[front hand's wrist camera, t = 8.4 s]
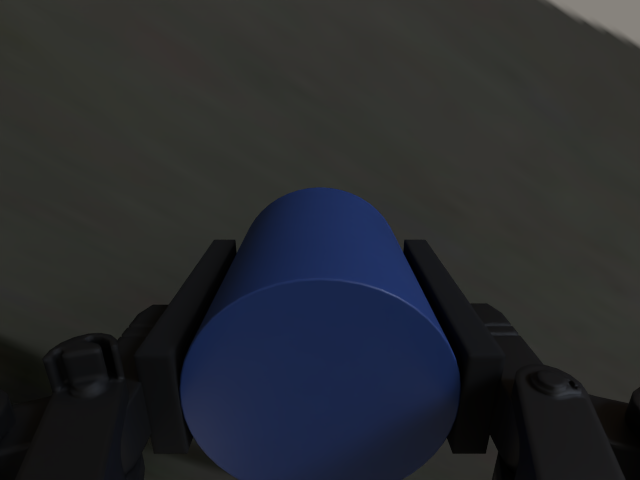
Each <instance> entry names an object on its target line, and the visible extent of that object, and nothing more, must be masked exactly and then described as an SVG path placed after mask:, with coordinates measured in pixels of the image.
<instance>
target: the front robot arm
mask: <svg viewBox="0 0 640 480" xmlns="http://www.w3.org/2000/svg"><path fill="white" fill-rule="evenodd" d="M403 254H404V256H405V257H406V259H407V261H408V263H409V265H410V267H411V269H412V271H413V273H414V275H415V277H416V279H417V281H418V283H419V285H420V287H421V289H422V291H423V293H424V295H425V297H426V299H427V301H428V303H429V305H430V307H431V309H432V311H433V313H434V315H435V317H436V319H437V321H438V323H439V325H440V327H441V328H442V330H443V332H444V334H445V336H446V338H447V340H448V342H449V344H450V347H451V349H452V351H453V353H454V355H455V358H456V361H457V365H458V368H459V372H460V382H461V395H460V404H459V409H458V413H457V417H456V420H455V422H454V424H453V427H452V429H451V431H450V433H449V435H448V436H447V439H448V442H449V444H450V447H451V450H452V453H453V454H486V450H487V445H488V440H489V436H490V435H491V438H492V440H493V442H494V444H495V446H496V448H497V450H498V455H497V460H496V464H495V469H494V473H493V478H492V480H640V387H639V388H638V389H636V390H635V391H634V392H633V393H632V396H631V399H630V402H629V403H624V402H620V401H615V400H611V399H606V398H601V397H597V396H593V395H589V394H588V393H587V391H586V390H585V388H584V387H583V386H582V384H581V383H580V382H579V381H577V380H576V379H575V378H573V377H572V376H571V375H569V374H567V373H565V372H563V371H561V370H559V369H557V368H553V367H550V366H546V365H543V363H542V362H541V361H540V360H539V358H538V357H537V356H536V355H535V353H534V352H533V351H532V350H531V348H530V347H529V346H528V345H527V344H526V342H525V341H524V340H523V339H522V337H521V336H518V332H517V331H516V330H515V329H514V328H513V326H511V324H510V323H509V321H508V320H507V319H506V318H505V316H504V315H503V314H502V313H501V312H499V311H498V310H496V309H495V308H493V307H492V306H490V305H488V304H470V303H469V302H468V300H467V299H466V297H465V296H464V294H463V293H462V292H461V290H460V289H459V287H458V286H457V284H456V283H455V282H454V280H453V279H452V277H451V276H450V274H449V273H448V271H447V270H446V269H445V267H444V266H443V264H442V263H441V261H440V260H439V259H438V257H437V256H436V254H435V253H434V251H433V250H432V249H431V247H430V246H429V244H428V243H427V241H426V240H404V251H403ZM235 256H236V242H235V240H214V241H213V242H212V244H211V245H210V247H209V248H208V250H207V251H206V252H205V254H204V255H203V257H202V258H201V260H200V261H199V263H198V264H197V265H196V267H195V268H194V270H193V271H192V273H191V274H190V275H189V277H188V278H187V280H186V281H185V283H184V284H183V285H182V287H181V288H180V290H179V291H178V293H177V294H176V295H175V297H174V298H173V300H172V301H171V303H170V304H169V305H152V306H150V307H149V308H147V309H146V310H144V311H143V312H141V313H139V314H138V315H137V316H136V318H135V319H134V320H133V321H132V323H131V324H130V325H129V328H127V329H126V330H125V331H124V333H123V334H122V337H120V338H119V339H118V340H116V339H115V338H114V337H113V336H111V335H108V334H103V333H93V334H85V335H81V336H77V337H74V338H71V339H69V340H67V341H64V342H62V343H60V344H59V345H57V346H56V347H54V348H53V349H51V350H50V351H49V352H48V353H47V354H46V355H45V356H44V358H43V362H44V365H45V369H46V372H47V375H48V378H49V381H50V385H51V388H52V391H53V393H52V396H49V397H46V398H42V399H37V400H33V401H28V402H23V403H19V404H14V405H11V403H10V400H9V397H8V394H7V393H6V392H4V391H3V390H1V389H0V480H144V472H145V466H144V460H143V455H142V451H143V449H144V447H145V445H146V443H147V441H148V439H149V437H151V442H152V446H153V451H154V454H187V452H188V449H189V447H190V444H191V441H192V438H193V436H192V434H191V432H190V431H189V428H188V426H187V424H186V421H185V419H184V415H183V411H182V407H181V402H180V391H179V386H180V374H181V370H182V366H183V362H184V359H185V356H186V354H187V352H188V349H189V347H190V345H191V343H192V341H193V339H194V337H195V335H196V333H197V331H198V329H199V327H200V325H201V323H202V321H203V319H204V317H205V315H206V313H207V311H208V309H209V307H210V305H211V303H212V301H213V299H214V297H215V295H216V294H217V292H218V290H219V288H220V286H221V284H222V282H223V280H224V278H225V276H226V274H227V272H228V270H229V268H230V266H231V264H232V262H233V260H234V258H235Z"/></svg>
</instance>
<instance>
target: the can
mask: <svg viewBox="0 0 640 480" xmlns="http://www.w3.org/2000/svg"><path fill="white" fill-rule="evenodd" d="M179 391H180V402H181V407H182V411H183V415H184V419H185V421H186V424H187V426H188V428H189V431H190V432H191V434H192V436H193V437H194V439H195V441H196V442H197V444H198V445H199V446H200V448H201V449H202V450H203V451H204V452H205V454H206V455H207V456H208V457H209V458H210V459H211V460H212V461H213V462H215V463H216V464H217V465H218V466H219V467H220V468H222V469H223V470H224V471H226V472H227V473H229V474H230V475H232V476H233V477H235V478H237V479H238V480H402V479H404V478H405V477H407V476H409V475H410V474H412V473H413V472H415V471H416V470H417V469H419V468H420V467H421V466H423V465H424V464H425V463H426V462H427V461H428V460H429V459H430V458H431V457H432V456H433V455H434V454H435V453H436V452H437V450H438V449H439V448H440V447H441V445H442V444H443V443H444V441H445V440H446V438H447V436H448V435H449V433H450V431H451V429H452V427H453V424H454V422H455V420H456V417H457V413H458V409H459V404H460V395H461V382H460V372H459V368H458V365H457V361H456V358H455V355H454V353H453V351H452V349H451V347H450V344H449V342H448V340H447V338H446V336H445V334H444V332H443V330H442V328H441V327H440V325H439V323H438V321H437V319H436V317H435V315H434V313H433V311H432V309H431V307H430V305H429V303H428V301H427V299H426V297H425V295H424V293H423V291H422V289H421V287H420V285H419V283H418V281H417V279H416V277H415V275H414V273H413V271H412V269H411V267H410V265H409V263H408V261H407V259H406V257H405V256H404V254H403V252H402V250H401V248H400V246H399V244H398V242H397V240H396V238H395V236H394V234H393V232H392V230H391V228H390V226H389V225H388V223H387V222H386V220H385V218H384V217H383V216H382V215H381V214H380V213H379V212H378V211H377V210H376V209H375V208H374V207H373V206H372V205H371V204H369V203H368V202H366V201H365V200H363V199H362V198H360V197H358V196H356V195H353V194H351V193H348V192H345V191H342V190H337V189H332V188H308V189H303V190H298V191H295V192H292V193H289V194H287V195H285V196H283V197H281V198H279V199H277V200H275V201H274V202H272V203H271V204H269V205H268V206H267V207H266V208H265V209H264V210H263V211H262V212H261V213H260V214H259V215H258V216H257V218H256V219H255V220H254V222H253V223H252V225H251V227H250V228H249V230H248V232H247V234H246V236H245V238H244V240H243V242H242V244H241V246H240V248H239V250H238V252H237V254H236V256H235V258H234V260H233V262H232V264H231V266H230V268H229V270H228V272H227V274H226V276H225V278H224V280H223V282H222V284H221V286H220V288H219V290H218V292H217V294H216V295H215V297H214V299H213V301H212V303H211V305H210V307H209V309H208V311H207V313H206V315H205V317H204V319H203V321H202V323H201V325H200V327H199V329H198V331H197V333H196V335H195V337H194V339H193V341H192V343H191V345H190V347H189V349H188V352H187V354H186V356H185V359H184V362H183V366H182V370H181V374H180V386H179Z"/></svg>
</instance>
